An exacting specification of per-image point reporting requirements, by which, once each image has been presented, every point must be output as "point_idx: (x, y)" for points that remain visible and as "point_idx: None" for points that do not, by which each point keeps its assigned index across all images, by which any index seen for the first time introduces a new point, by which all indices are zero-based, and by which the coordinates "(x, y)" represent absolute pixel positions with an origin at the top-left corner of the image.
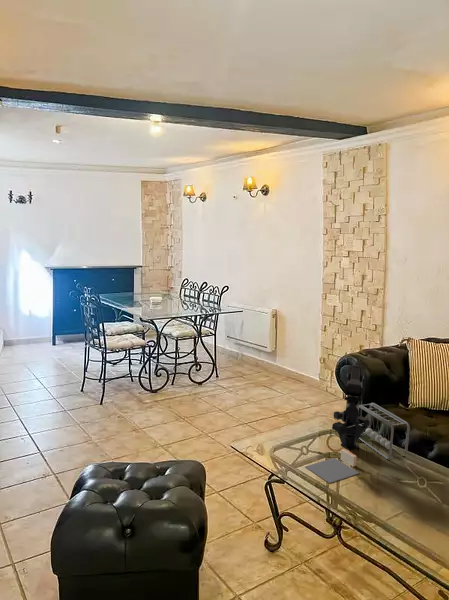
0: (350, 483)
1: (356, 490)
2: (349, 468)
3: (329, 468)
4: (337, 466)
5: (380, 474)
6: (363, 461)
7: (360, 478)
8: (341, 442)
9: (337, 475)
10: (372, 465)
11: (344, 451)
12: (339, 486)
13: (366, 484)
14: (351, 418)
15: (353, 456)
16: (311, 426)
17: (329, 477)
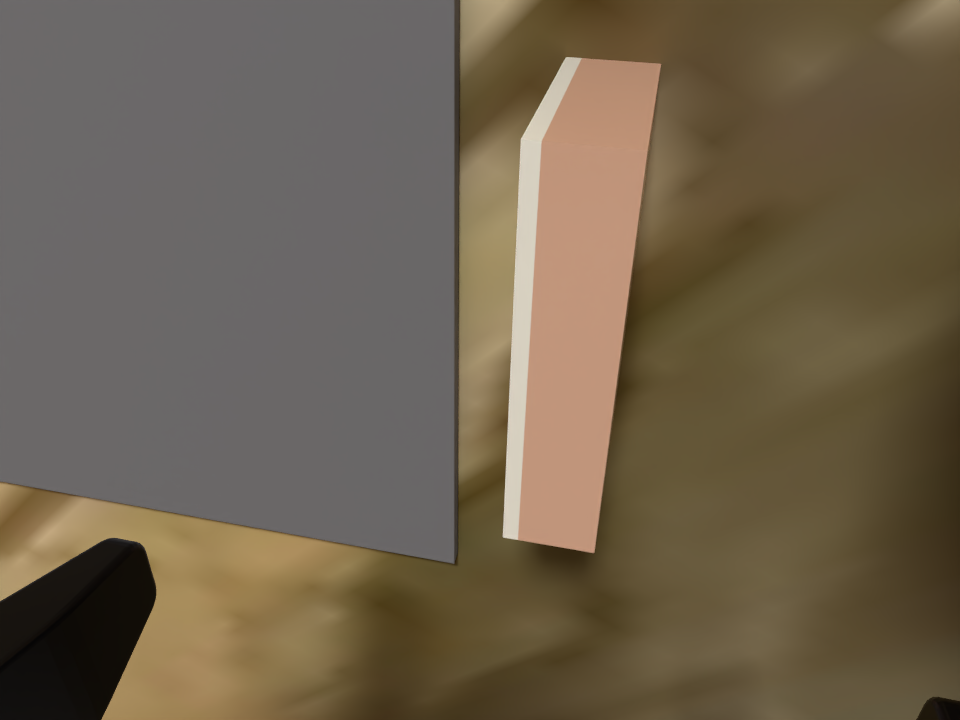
0: (179, 589)
1: (160, 676)
2: (412, 418)
3: (84, 226)
4: (259, 263)
5: (713, 712)
6: (917, 398)
7: (377, 609)
8: (76, 579)
9: (100, 427)
10: (895, 557)
11: (518, 267)
12: (18, 549)
13: (345, 693)
14: None
15: (513, 525)
16: None
17: None
